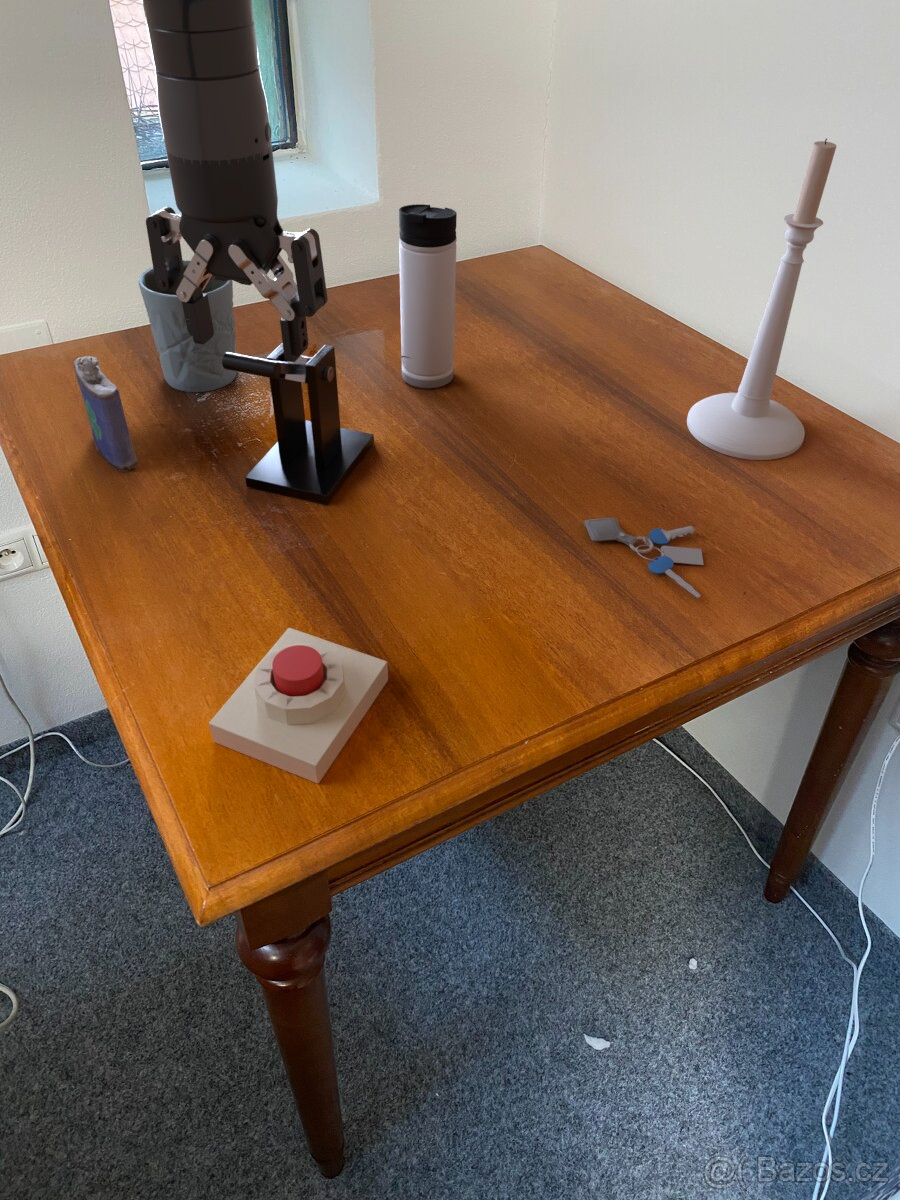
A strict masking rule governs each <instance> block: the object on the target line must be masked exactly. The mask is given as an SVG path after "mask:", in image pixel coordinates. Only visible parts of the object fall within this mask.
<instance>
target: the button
mask: <svg viewBox="0 0 900 1200" xmlns="http://www.w3.org/2000/svg"><path fill="white" fill-rule="evenodd" d="M272 668H273V674H274V680H275V685H276V687H277V688H278V690H279V691H281V692H282V693H283V694H286V695H288V696H293V697H295V696H306V695H309V694H311V693H313V692H314V691H316V690H317V689H318V688H319V687H320V686H321V684H322V682H323V679H324V673H323V665H322V658H321V655H320V654H319V653H318V652H317V651H316V650H315V649H313V648H311V647H309V646H304V645H295V646H290V647H287V648H285V649H283V650H282V651H280V652H279V653H278V654H277V655H276V656H275V658H274V660H273V663H272Z"/></svg>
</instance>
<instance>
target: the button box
mask: <svg viewBox="0 0 900 1200" xmlns="http://www.w3.org/2000/svg"><path fill="white" fill-rule="evenodd" d="M295 645H304V646H309V647H311V648H313V649H315V650H316V651H317V652H318V653H319V654H320V655H321V658H322V665H323V673H324V679H323V682H322V684H321V686H320V687H319V688H318V689H317V690H316V691H314V692H313V693H311V694H309V695H306V696H295V697H293V696H288V695H286V694H283V693H282V692H281V691H279V690H278V688H277V687H276V685H275V680H274V674H273V668H272V663H273V660H274V658H275V656H276V655H277V654H278V653H279V652H280V651H282V650H283V649H285V648H287V647H290V646H295ZM388 665H389V664H388V661H387V660H384V659H381V658H378V657H375V656H373V655H370V654H367V653H364V652H361V651H358V650H356V649H352V648H349V647H347V646H344V645H342V644H338V643H336V642H332V641H329V640H326V639H323V638H320V637H318V636H315V635H311V634H309V633H307V632H303V631H300V630H297V629H295V628H291V627H288V628H287V629H286V630H285V631H284V633H283V634H281V636H280V637H279V639H277V641H276V642H275V643H274V644H273V645H272V647H271V648H270V649H269V650H268V652H267V653H266V654H265V655H264V657H262V659H261V660H260V661H259V662H258V663H257V665H256V666H255V667H254V668H253V669H252V671H251V672H250V673H249V674H248V675H247V676H246V678H245V679H244V680H243V682H241V683H240V685H239V686H238V687H237V688H236V690H235V691H234V692H233V693H232V695H231V696H230V697H229V698H228V699H227V700H226V701H225V703H224V704H223V705H222V706H221V708H220V709H218V711H217V712H216V714H215V715H213V717H212V719H211V720H210V721H209V722H208V726H209V730H210V734H211V737H212V741H213V743H215V744H218V745H221V746H222V747H226V748H228V749H230V750H233V751H236V752H238V753H240V754H242V755H246V756H248V757H250V758H253V759H255V760H258V761H260V762H263V763H265V764H268V765H270V766H273V767H275V768H278V769H280V770H282V771H285V772H288V773H290V774H292V775H295V776H298V777H301V778H303V779H305V780H308V781H310V782H313V783H315V784H320V782H321V781H322V779H323V778H324V776H325V775H326V773H327V772H328V770H329V769H330V768H331V766H332V765H333V763H334V761H335V760H336V758H337V757H338V756H339V754H340V753H341V751H342V749H343V748H344V746H345V745H346V744H347V742H348V741H349V740H350V738H351V736H352V735H353V733H354V732H355V730H356V729H357V728H358V726H359V724H360V723H361V722H362V720H363V718H364V717H365V716H366V714H367V713H368V712H369V710H370V708H371V706H373V704H374V702H375V700H376V699H377V697H379V695H380V693H381V691H382V690H383V689H384V687H385V685H386V684H387V683H388V681H389V667H388Z"/></svg>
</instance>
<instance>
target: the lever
mask: <svg viewBox="0 0 900 1200" xmlns="http://www.w3.org/2000/svg"><path fill="white" fill-rule="evenodd" d="M313 357H314V356H308V355H303V354H302V355H301V356H300V357H299V358H298V359H297V360H296V361H295V362H291V361H287V362H282V361H271V360H267V358H260V357H256V356H249V355H245V354H240V353H236V354H235V353H229V352H226V353H225V354H224V355H223V358H222V365H223V367H224V368H225V369H228V370H233V371H237V373H238V372H239V373H243V374H248V375H254V376H258V377H259V376H260V377H264V378H274V379H278V378H279V377H280V375H281V374H285V379H286V380H290V381H296V382H301V384H307V376H306V366H305V365H306V364H307V363H308V362H309V361H310V360H311V359H312V358H313Z"/></svg>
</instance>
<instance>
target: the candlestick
mask: <svg viewBox="0 0 900 1200" xmlns="http://www.w3.org/2000/svg"><path fill="white" fill-rule="evenodd" d="M836 150H837V144H836V143H834V142H830V141H828V138H825V139H824V141H823V140H819V141H818V140H817V141H814V142H813V144H812V148H811V152H810V156H809V159H808V162H807V167H806V169H805V174H804V177H803V181H802V183H801V187H800V191H799V195H798V199H797V202H796V206H795V210H794V213H791V214H790V213H789V214H787V215H785V216H784V217H783V220H784V222H785V223H786V225H787V229H786V231H785V233H784V238H785V240H786V241H787V242H786V251H785V253H784V254H783V255H782V256H781V258H780V260H781V261H780V264H779V267H778V268H777V269H778V270H777V273H776V276H775V278H774V281H773V285H772V288H771V291H770V294H769V297H768V300H767V303H766V306H765V310H764V313H763V315H762V318H761V322H760V324H759V327H758V330H757V333H756V336H755V339H754V342H753V345H752V348H751V351H750V353H749V354H750V355H749V358H748V360H747V363H746V366H745V369H744V373H743V375H742V379H741V381H740V384H739V386H738V389H737V392H724V393H718V394H714V395H710V396H707V397H705V398H703V399H701V400H699V401H697V402H695V404H693V405H692V406H691V407H690V409H689V410H688V414H687V417H686V425H687V429H688V430H689V432H690V434H691V435H692V436H693V438H695V440H697V441H698V442H699V443H701V444H702V445H704V446H705V447H707V448H709V449H711V450H713V451H715V452H717V453H720V454H723V455H724V456H725V455H726V456H729V457H733V458H737V459H743V460H750V461H770V460H777V459H782V458H785V457H788V456H790V455H792V454H794V453H796V452H797V451H798V450H799V449H800V448H801V447H802V445H803V443H804V440H805V428H804V425H803V424H802V422H801V420H800V419H799V418H798V416H796V414H795V413H794V412H792V410H790V409H789V408H788V407H786V406H785V405H783V404H781V403H780V402H777V401H776V400H773V399H771V397H772V395H773V388H774V384H775V378H776V374H777V370H778V367H779V363H780V358H781V354H782V350H783V345H784V342H785V338H786V333H787V328H788V325H789V320H790V316H791V312H792V308H793V305H794V300H795V295H796V290H797V286H798V283H799V278H800V276H801V275H800V273H801V270H802V266H803V263H804V262H805V260H804V257H803V255H804V251H805V250H806V249H807V246H808V244H810V243H811V242H813V240H814V239H815V238H814V237H815V231H816V230H817V229H818V228H820V227H822V226H823V225H824V221H823V220H822V219H821V218H819V217H817V215H818V212H819V208H820V204H821V201H822V198H823V194H824V191H825V188H826V184H827V181H828V177H829V174H830V170H831V167H832V163H833V160H834V156H835V153H836Z"/></svg>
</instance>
